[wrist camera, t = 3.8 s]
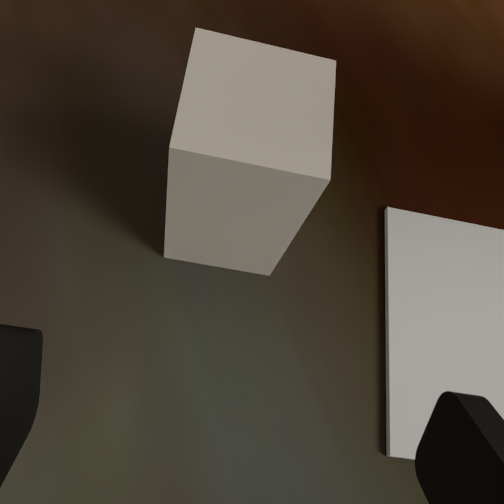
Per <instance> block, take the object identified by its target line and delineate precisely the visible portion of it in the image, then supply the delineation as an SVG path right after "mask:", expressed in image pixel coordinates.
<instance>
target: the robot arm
mask: <svg viewBox="0 0 504 504" xmlns="http://www.w3.org/2000/svg"><path fill="white" fill-rule="evenodd" d="M42 346H43V335H42V332H41V330H37V329H30V328H23V327H17V326H10V325H3V324H0V487H1V485H2V483H3V481H4V479H5V478H6V476H7V474H8V472H9V470H10V468H11V466H12V464H13V462H14V461H15V459H16V457H17V455H18V453H19V451H20V449H21V447H22V445H23V444H24V442H25V440H26V438H27V436H28V434H29V432H30V430H31V427H32V425H33V422H34V419H35V416H36V412H37V408H38V403H39V394H40V378H41V362H42ZM415 469H416V475H417V478H418V481H419V483H420V485H421V487H422V490H423V492H424V494H425V496H426V498H427V500H428V502H429V504H504V420H503V418H502V417H501V416H500V414H499V413H498V412H497V411H496V409H495V408H494V407H493V406H492V404H491V403H490V402H489V401H488V400H487V399H486V398H485V397H483V396H478V395H471V394H464V393H458V392H451V391H446V392H443V393H442V394H441V395H440V396H439V398H438V400H437V402H436V404H435V407H434V409H433V412H432V414H431V416H430V419H429V421H428V423H427V426H426V428H425V430H424V433H423V435H422V437H421V440H420V442H419V445H418V447H417V450H416V456H415Z"/></svg>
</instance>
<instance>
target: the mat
mask: <svg viewBox="0 0 504 504" xmlns="http://www.w3.org/2000/svg"><path fill="white" fill-rule="evenodd" d="M385 321H386V453H387V456H390V457H398V458H406V459H413V460H415V456H416V450H417V447H418V445H419V442H420V440H421V437H422V435H423V433H424V430H425V428H426V426H427V423H428V421H429V419H430V416H431V414H432V412H433V409H434V407H435V404H436V402H437V400H438V398H439V396H440V395H441V394H442V393H443V392H446V391H451V392H458V393H464V394H471V395H478V396H483V397H485V398H486V399H487V400H488V401H489V402H490V403H491V404H492V406H493V407H494V408H495V409H496V411H497V412H498V413H499V414H500V416H501V417H502V418H503V420H504V230H501V229H496V228H491V227H486V226H481V225H476V224H471V223H466V222H461V221H456V220H451V219H446V218H441V217H436V216H431V215H426V214H421V213H416V212H411V211H406V210H401V209H396V208H390V207H387V208H386V209H385Z"/></svg>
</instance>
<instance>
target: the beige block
mask: <svg viewBox="0 0 504 504" xmlns="http://www.w3.org/2000/svg"><path fill="white" fill-rule="evenodd" d="M335 75H336V61H335V60H331V59H327V58H323V57H318V56H314V55H310V54H306V53H301V52H297V51H293V50H289V49H285V48H280V47H276V46H272V45H268V44H263V43H259V42H255V41H251V40H246V39H242V38H238V37H234V36H230V35H225V34H221V33H217V32H213V31H208V30H204V29H200V28H195V33H194V37H193V42H192V46H191V51H190V55H189V60H188V64H187V69H186V73H185V78H184V82H183V87H182V92H181V96H180V101H179V105H178V110H177V114H176V119H175V123H174V128H173V132H172V137H171V141H170V146H169V160H168V181H167V201H166V221H165V242H164V258H170V259H175V260H181V261H187V262H193V263H199V264H204V265H210V266H216V267H222V268H227V269H233V270H239V271H245V272H251V273H256V274H262V275H268V276H270V274H271V272H272V271H273V269H274V268H275V266H276V265H277V263H278V261H279V260H280V258H281V257H282V255H283V254H284V252H285V251H286V249H287V247H288V246H289V244H290V243H291V241H292V240H293V238H294V236H295V235H296V233H297V232H298V230H299V229H300V227H301V225H302V224H303V222H304V221H305V219H306V218H307V216H308V214H309V213H310V211H311V210H312V208H313V207H314V205H315V203H316V202H317V200H318V199H319V197H320V196H321V194H322V192H323V191H324V189H325V188H326V186H327V185H328V183H329V182H330V179H331V158H332V137H333V116H334V96H335Z"/></svg>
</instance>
